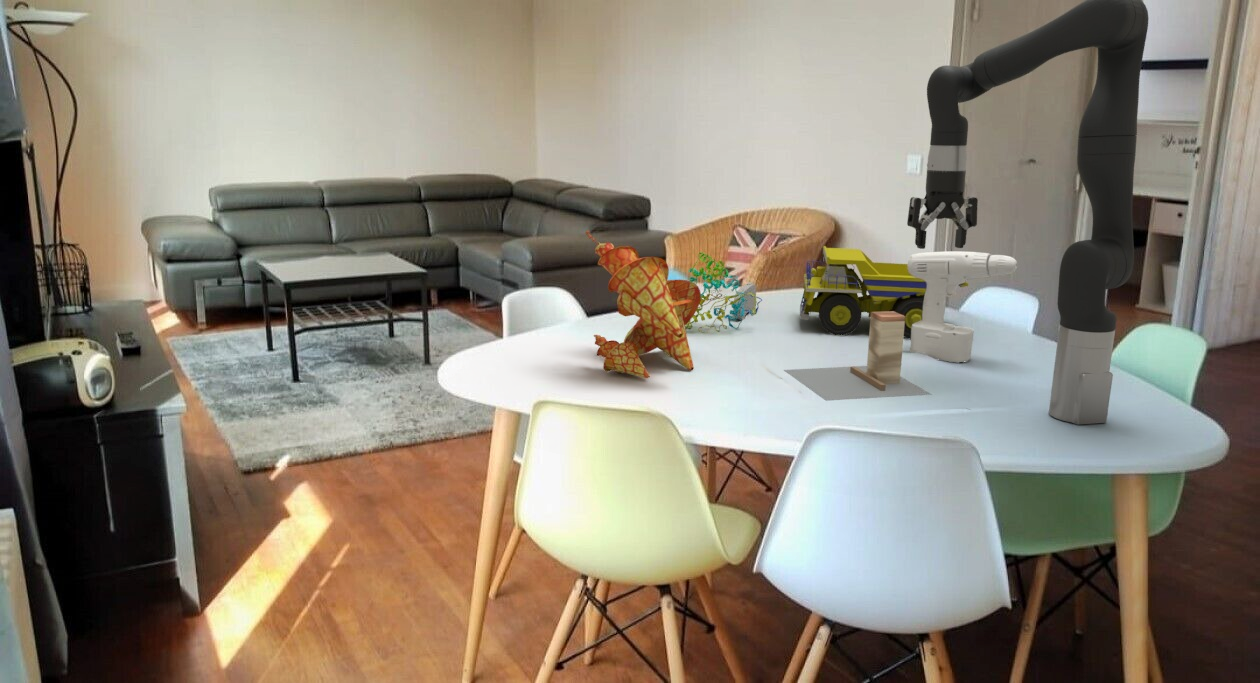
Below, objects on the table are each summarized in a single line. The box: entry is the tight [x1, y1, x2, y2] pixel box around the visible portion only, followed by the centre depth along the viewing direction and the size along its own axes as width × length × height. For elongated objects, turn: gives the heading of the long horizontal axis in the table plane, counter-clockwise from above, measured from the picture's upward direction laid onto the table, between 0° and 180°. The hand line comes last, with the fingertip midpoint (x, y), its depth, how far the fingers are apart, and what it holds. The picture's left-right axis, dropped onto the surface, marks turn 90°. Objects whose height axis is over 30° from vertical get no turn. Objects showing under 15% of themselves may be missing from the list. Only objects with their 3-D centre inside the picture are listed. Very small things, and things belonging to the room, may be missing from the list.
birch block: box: [866, 311, 905, 384], centre depth 192 cm, size 5×5×14 cm
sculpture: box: [584, 230, 702, 379], centre depth 205 cm, size 33×28×35 cm
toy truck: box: [799, 245, 969, 339], centre depth 243 cm, size 24×40×20 cm, turn 81°
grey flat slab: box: [732, 281, 757, 321], centre depth 258 cm, size 20×2×8 cm, turn 160°
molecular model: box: [685, 252, 763, 334], centre depth 239 cm, size 23×21×15 cm
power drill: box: [907, 250, 1018, 363], centre depth 213 cm, size 8×24×25 cm, turn 51°
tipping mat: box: [783, 365, 932, 401], centre depth 193 cm, size 22×22×2 cm
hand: (940, 248), depth 193 cm, fingers open, 8 cm apart
